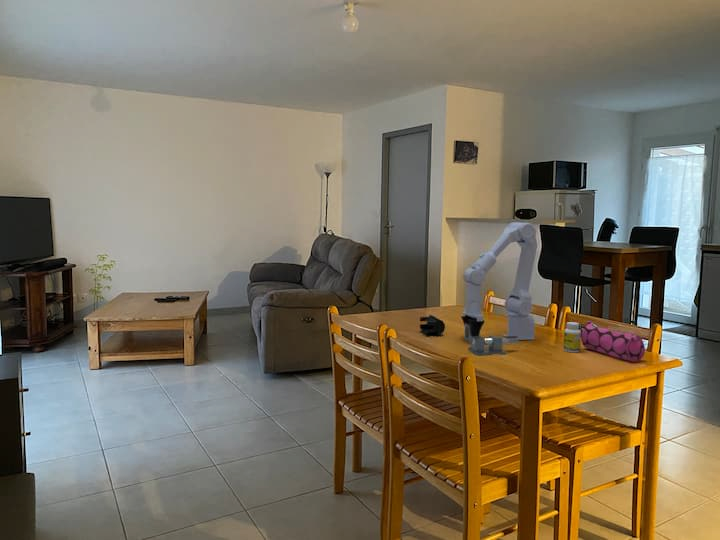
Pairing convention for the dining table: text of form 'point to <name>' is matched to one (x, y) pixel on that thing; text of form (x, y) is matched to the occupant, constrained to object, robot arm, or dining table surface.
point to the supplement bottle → (572, 337)
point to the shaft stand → (490, 344)
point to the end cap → (432, 326)
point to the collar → (468, 332)
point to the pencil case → (613, 342)
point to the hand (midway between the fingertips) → (472, 336)
